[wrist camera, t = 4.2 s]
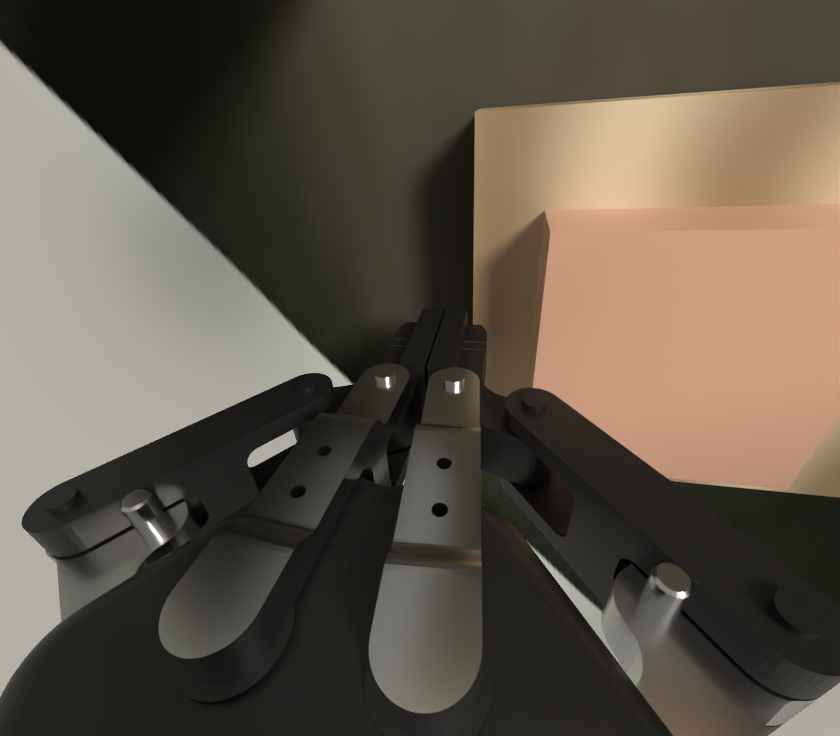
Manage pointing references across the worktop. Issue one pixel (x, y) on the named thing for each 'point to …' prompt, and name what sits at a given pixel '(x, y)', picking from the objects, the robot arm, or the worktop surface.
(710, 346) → the terracotta coaster
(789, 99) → the oak board
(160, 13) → the worktop surface
